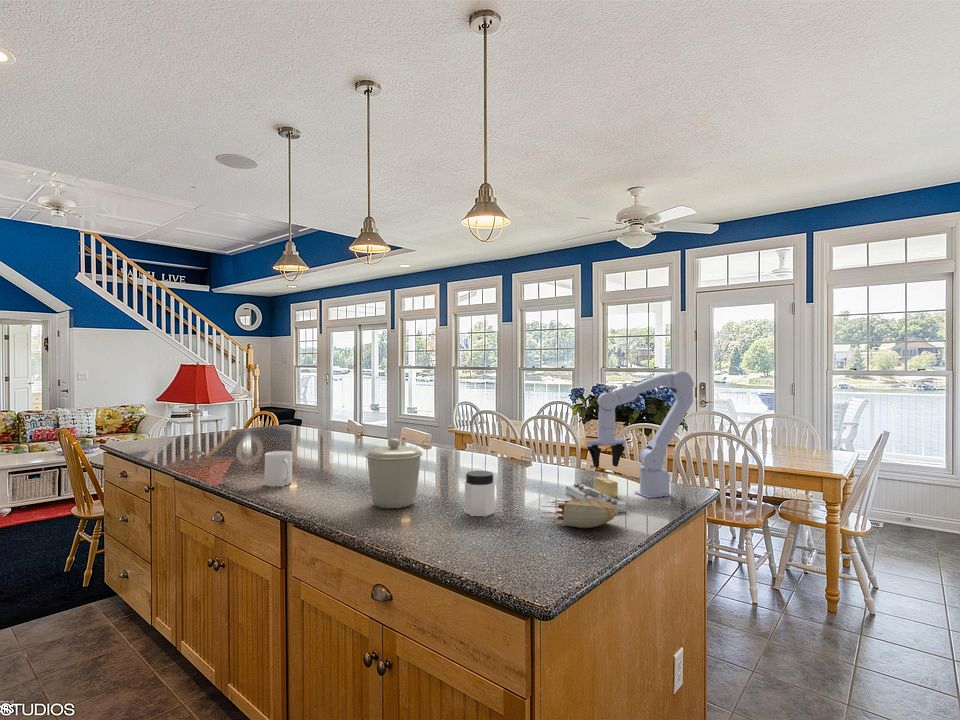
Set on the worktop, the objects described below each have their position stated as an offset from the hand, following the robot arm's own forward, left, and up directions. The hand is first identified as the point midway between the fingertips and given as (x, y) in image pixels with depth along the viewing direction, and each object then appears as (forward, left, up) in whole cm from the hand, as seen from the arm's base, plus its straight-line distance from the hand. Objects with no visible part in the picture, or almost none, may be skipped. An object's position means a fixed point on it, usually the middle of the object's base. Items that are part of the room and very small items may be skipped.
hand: (605, 466), depth 182 cm
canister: (+72, -9, -10) cm, 73 cm away
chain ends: (+9, +8, -10) cm, 16 cm away
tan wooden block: (0, 0, -10) cm, 10 cm away
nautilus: (+26, +27, -10) cm, 39 cm away
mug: (+107, -49, -10) cm, 118 cm away
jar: (+49, +8, -10) cm, 50 cm away
